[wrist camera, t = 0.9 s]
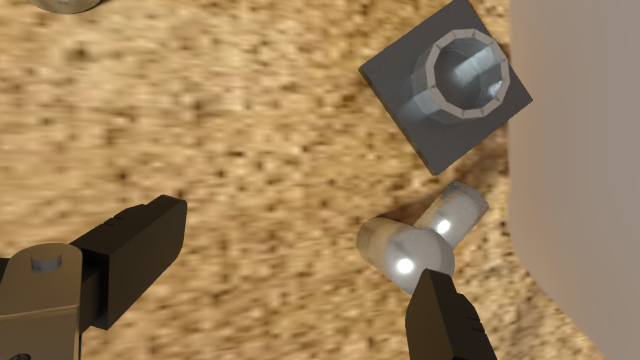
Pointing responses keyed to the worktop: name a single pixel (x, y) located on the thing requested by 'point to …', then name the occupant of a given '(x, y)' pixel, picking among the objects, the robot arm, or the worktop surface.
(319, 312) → the worktop surface
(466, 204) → the duct elbow
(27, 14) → the worktop surface
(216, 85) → the worktop surface
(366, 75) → the duct collar
